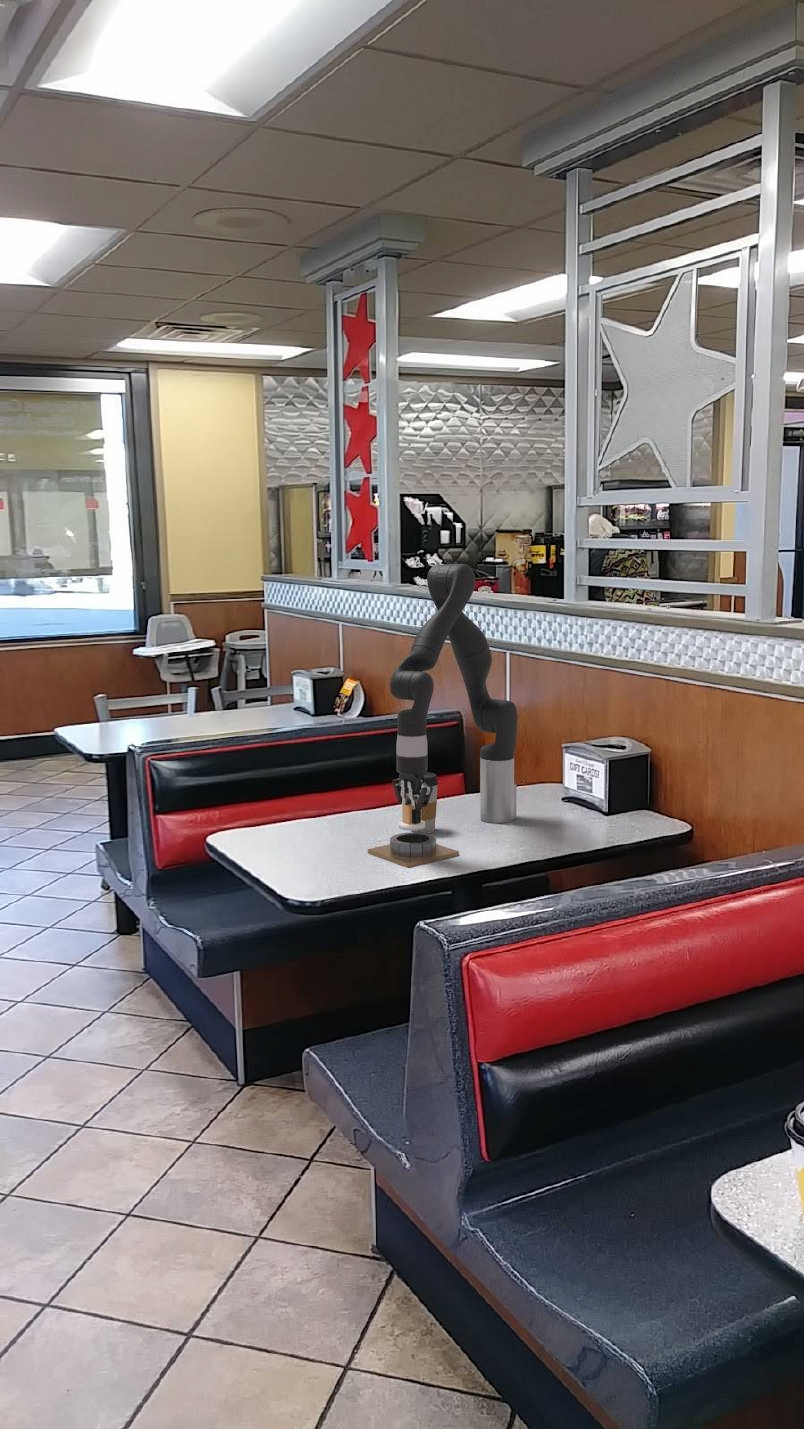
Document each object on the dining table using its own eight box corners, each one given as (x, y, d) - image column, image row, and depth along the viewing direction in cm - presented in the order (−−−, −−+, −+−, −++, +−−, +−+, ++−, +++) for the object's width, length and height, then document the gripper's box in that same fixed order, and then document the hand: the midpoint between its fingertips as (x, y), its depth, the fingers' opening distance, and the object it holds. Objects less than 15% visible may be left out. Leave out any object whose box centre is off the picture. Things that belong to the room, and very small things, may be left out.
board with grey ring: (418, 841, 285) (418, 826, 285) (459, 855, 273) (459, 839, 272) (367, 853, 276) (367, 837, 275) (407, 867, 263) (407, 851, 263)
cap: (414, 822, 278) (414, 800, 277) (430, 827, 272) (430, 805, 272) (393, 826, 274) (393, 804, 273) (409, 831, 269) (409, 809, 268)
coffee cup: (401, 832, 295) (401, 776, 292) (416, 825, 302) (415, 770, 300) (429, 835, 291) (429, 779, 289) (443, 828, 298) (443, 773, 296)
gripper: (442, 755, 267) (442, 825, 270) (406, 747, 278) (406, 814, 281) (417, 758, 263) (417, 830, 265) (382, 750, 274) (382, 819, 276)
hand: (412, 822), depth 273 cm, fingers closed on cap, 2 cm apart
